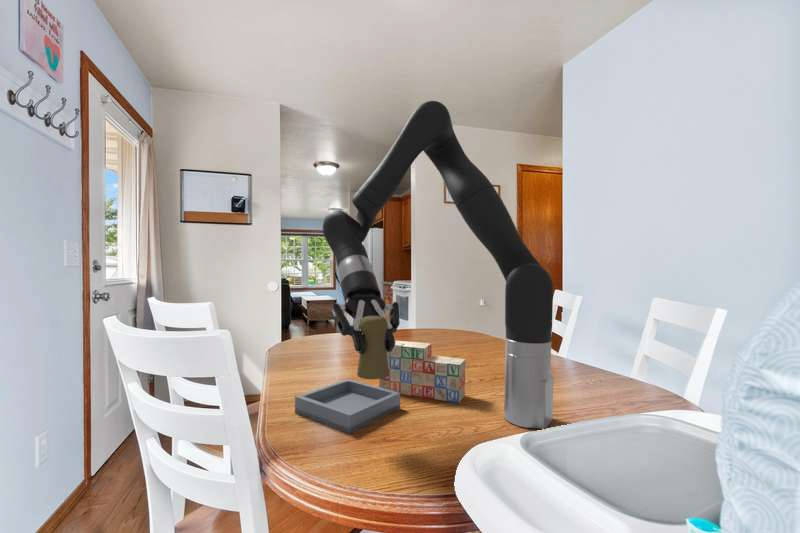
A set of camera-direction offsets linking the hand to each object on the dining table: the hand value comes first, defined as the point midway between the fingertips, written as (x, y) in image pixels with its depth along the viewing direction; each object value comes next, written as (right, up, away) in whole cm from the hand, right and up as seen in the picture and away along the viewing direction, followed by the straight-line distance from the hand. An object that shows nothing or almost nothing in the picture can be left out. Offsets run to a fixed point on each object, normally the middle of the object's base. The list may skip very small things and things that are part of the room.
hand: (376, 350), depth 70 cm
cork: (-1, -5, +2) cm, 6 cm away
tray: (-7, -17, +15) cm, 24 cm away
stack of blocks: (+10, -17, +27) cm, 34 cm away
